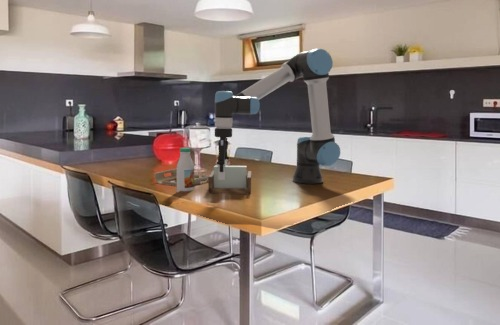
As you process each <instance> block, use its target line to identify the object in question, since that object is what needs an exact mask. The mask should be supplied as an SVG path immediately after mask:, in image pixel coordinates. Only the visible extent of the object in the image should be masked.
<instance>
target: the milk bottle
mask: <svg viewBox="0 0 500 325" xmlns="http://www.w3.org/2000/svg"><path fill="white" fill-rule="evenodd" d="M191 153H192V152H191V147H179V154H180V155H179V159H178V161H177V165H176V169H177V186H176V192H177V193H180V192H192V191H194V190H195V185H194V175H195V165H194V164H195V163H194V161H193V160H192V158H191Z"/></svg>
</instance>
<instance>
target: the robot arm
mask: <svg viewBox="0 0 500 325" xmlns="http://www.w3.org/2000/svg"><path fill="white" fill-rule="evenodd" d="M332 68H333V58H332V56H331V53H329V52H328V51H327V50H326V49H324V48H313V49H309V50H306V51H301V52H299V53H297V54H296V55H294V56H292V57H291V58H290V59H288V60H287V61H285V62H284V63H282V64H281V67H280V68H277V69H276V70H275V71H273V72H271V73H270V74H268V75H266V76H265V77H263V78H261V79H259V80H258V81H257V82H255V83H254V84H252V85H250V86H249V87H247V88H246V89H244V90H242V91H241V92H239V93H237V94H236V95H234V94H233V92H232V91H231V90H230V91H229V90H226V91H225V90H221V91H220V90H218V91H216V93H215V96H214V119H213V122H214V127H215V128H214V137H216V138H220V139H219V140H218V141H217V142H218V145H217V146H218V157H217V158H218V159H217V160H218V161H216V165H218V180H225V166H228V160H229V159H230V157H229V155H228V147H229V141H228V138H232V137H233V129H232V128H233V121H234V120H233V115H236V114H237V115H238V114H239V115H256V114H258V113H259V111H260V105H261V103H260V100H261V99H263V98H264V97H266V96H267V95H269V94H271V93H272V92H274V91H275V90H277V89H279V88H280V87H282V86H284V85H285V84H287V83H288V82H290V83H292V82H294V81H296V80H298V79H301V78H303V82H304V83H306V85H307V94H308V95H307V96H308V101H309V104H308V105H309V112H310V113H309V114H310V122H311V132H312V135H311V136H300V137H299V138H297V142H296V166H295V170H294V172H293V175H292V182H295V183H297V184H298V183H299V184H308V185H309V184H310V185H312V184H313V185H315V184H321V183H323V175H322V174H323V173H322V172H321V171H322V170H321V167H320V166H323V167H324V166H325V167H331V166H333V165H334V164H336V163H337V161H338V160H339V159H340V157H341V148H340V145H339V144H338V143H337V142H336V140H335V135H334V134H333V133H332V132H331V123H330V122H331V121H330V111H329V110H330V109H329V101H328V89H327V88H328V87H327V81H328V80H329V79H330V75H329V73H330V72H331V70H332Z"/></svg>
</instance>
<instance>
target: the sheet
mask: <svg viewBox="0 0 500 325" xmlns="http://www.w3.org/2000/svg"><path fill="white" fill-rule="evenodd" d="M213 171H214V188H246V176H248V170H247V165H227V166H225V180H218V164H216V165H214V166H213Z"/></svg>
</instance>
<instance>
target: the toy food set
mask: <svg viewBox="0 0 500 325" xmlns="http://www.w3.org/2000/svg"><path fill="white" fill-rule="evenodd" d="M169 173H170V174H171V175H169V176H168V175H167V176H165V174H169ZM153 175H154V176H153V178H154V180H155V182H156V183H157V184H158V185H159V184H160V185H165V186H171V185H172V187H177V168H172V169H168V170H167V169H166V170H163V171H159V172H154V174H153ZM208 177H209V175H207V174H202V175H201V177H200V175H199V174H198V173H196V174H195V173H194V186H195V185H196V186H197V185H199V184H202V183H209V178H208ZM202 181H203V182H202Z"/></svg>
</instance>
